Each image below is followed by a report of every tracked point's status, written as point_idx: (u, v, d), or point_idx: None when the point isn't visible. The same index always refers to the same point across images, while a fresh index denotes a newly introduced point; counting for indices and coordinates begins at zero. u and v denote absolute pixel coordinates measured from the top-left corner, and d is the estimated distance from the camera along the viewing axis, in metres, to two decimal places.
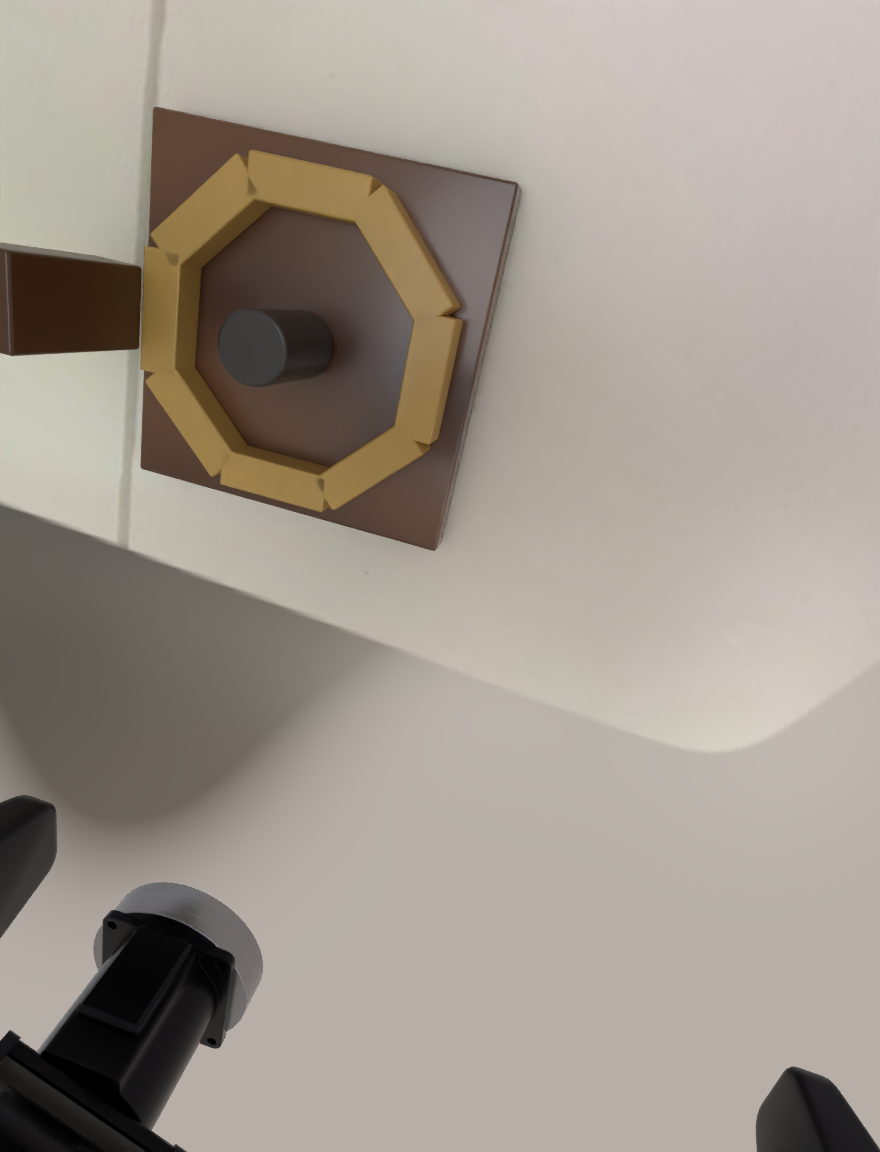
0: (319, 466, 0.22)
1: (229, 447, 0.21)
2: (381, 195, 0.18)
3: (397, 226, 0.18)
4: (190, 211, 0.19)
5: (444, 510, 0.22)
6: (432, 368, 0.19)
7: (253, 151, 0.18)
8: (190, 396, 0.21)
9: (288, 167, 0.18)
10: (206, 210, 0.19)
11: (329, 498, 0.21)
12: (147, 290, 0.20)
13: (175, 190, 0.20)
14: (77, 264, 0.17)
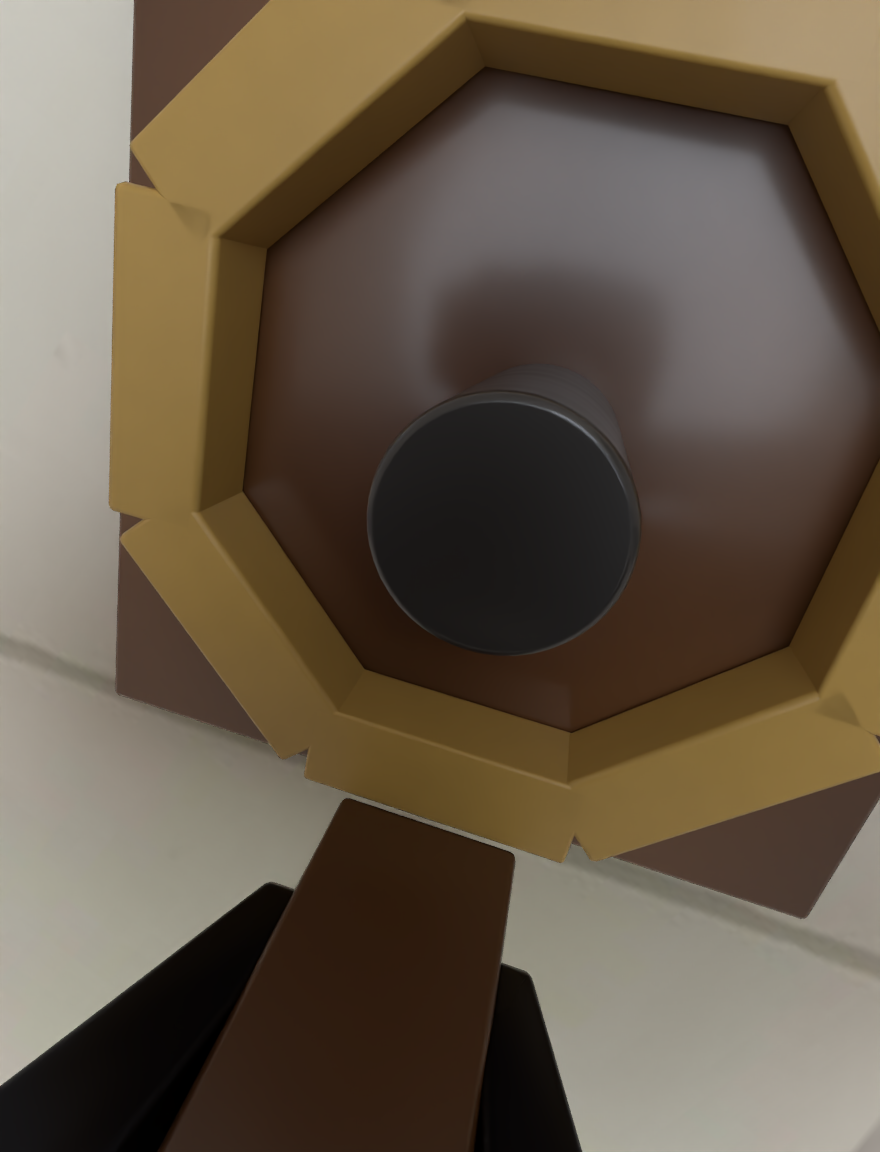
0: None
1: (804, 695, 0.07)
2: (149, 147, 0.07)
3: (215, 93, 0.06)
4: (231, 663, 0.08)
5: None
6: None
7: None
8: (641, 765, 0.08)
9: (126, 416, 0.08)
10: (226, 627, 0.08)
11: None
12: (389, 798, 0.09)
13: None
14: (257, 984, 0.06)
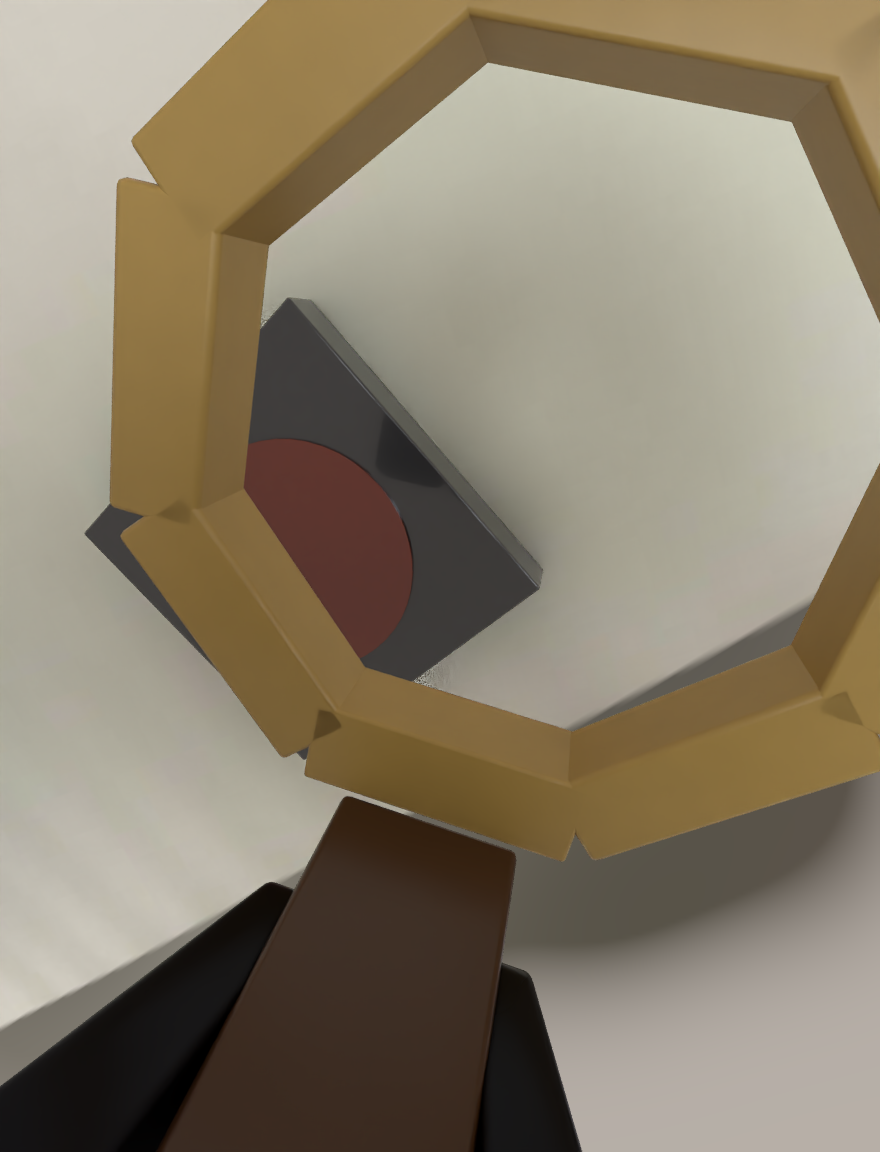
0: None
1: (806, 693, 0.07)
2: (151, 143, 0.06)
3: (216, 89, 0.06)
4: (232, 660, 0.08)
5: None
6: None
7: None
8: (643, 764, 0.08)
9: (127, 414, 0.08)
10: (227, 624, 0.08)
11: None
12: (390, 795, 0.09)
13: None
14: (258, 981, 0.06)
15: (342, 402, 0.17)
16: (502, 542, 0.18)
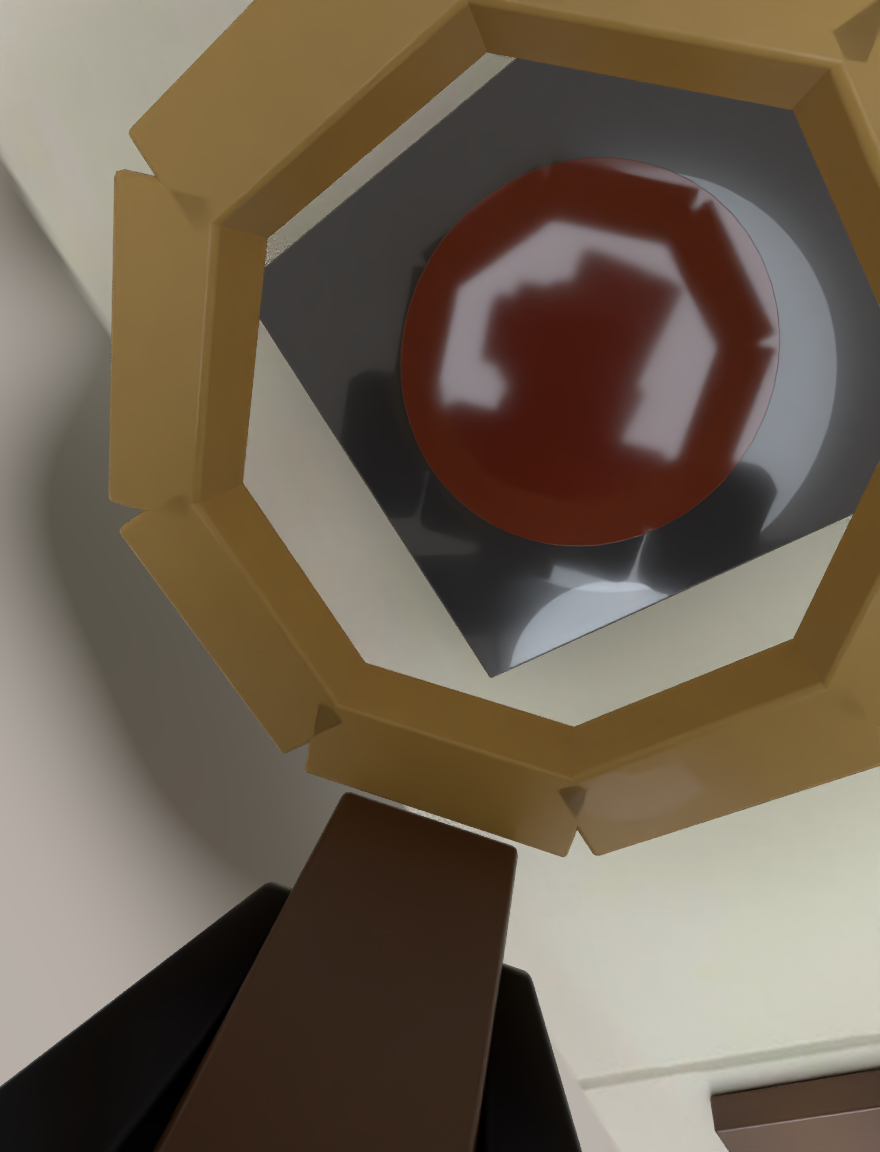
0: None
1: (809, 686, 0.07)
2: (148, 134, 0.06)
3: (215, 80, 0.06)
4: (232, 655, 0.08)
5: None
6: None
7: None
8: (645, 758, 0.08)
9: (126, 408, 0.08)
10: (226, 619, 0.08)
11: None
12: (390, 791, 0.09)
13: None
14: (258, 976, 0.06)
15: (789, 503, 0.13)
16: (552, 649, 0.15)
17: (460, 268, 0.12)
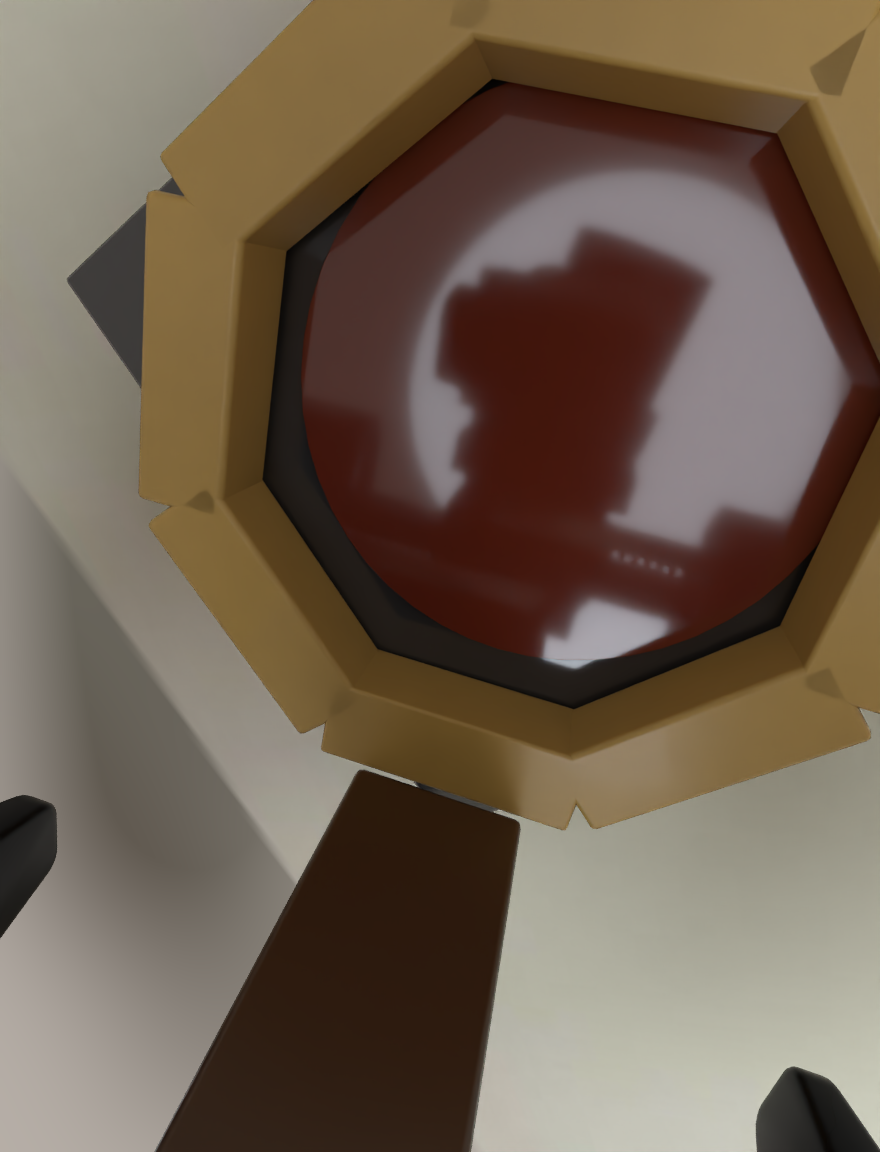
0: None
1: (791, 670, 0.08)
2: (178, 158, 0.07)
3: (240, 109, 0.07)
4: (253, 642, 0.09)
5: None
6: None
7: (139, 486, 0.09)
8: (639, 737, 0.08)
9: (155, 409, 0.08)
10: (249, 608, 0.09)
11: None
12: (401, 769, 0.09)
13: None
14: (283, 932, 0.07)
15: None
16: None
17: (384, 248, 0.08)
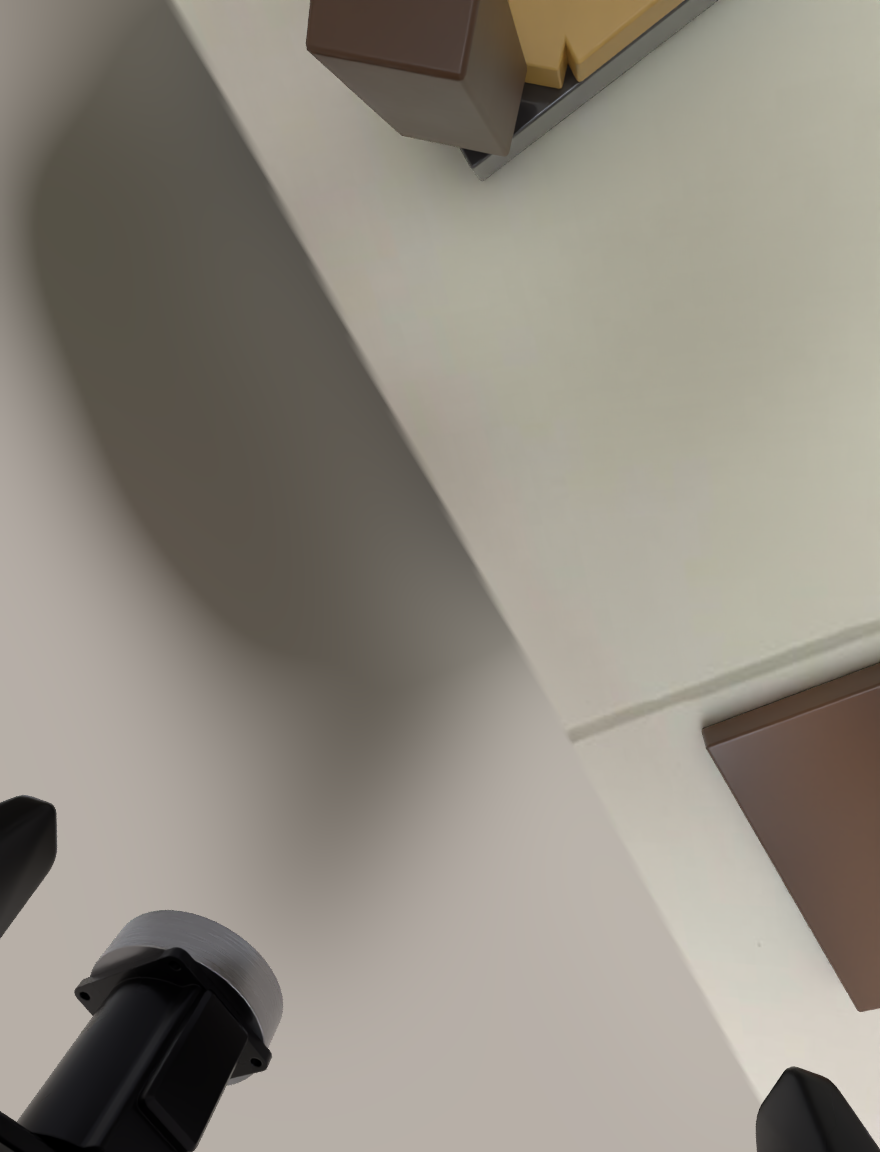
0: None
1: None
2: None
3: None
4: None
5: None
6: None
7: None
8: None
9: None
10: None
11: None
12: None
13: None
14: None
15: None
16: (535, 122, 0.14)
17: None
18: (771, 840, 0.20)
